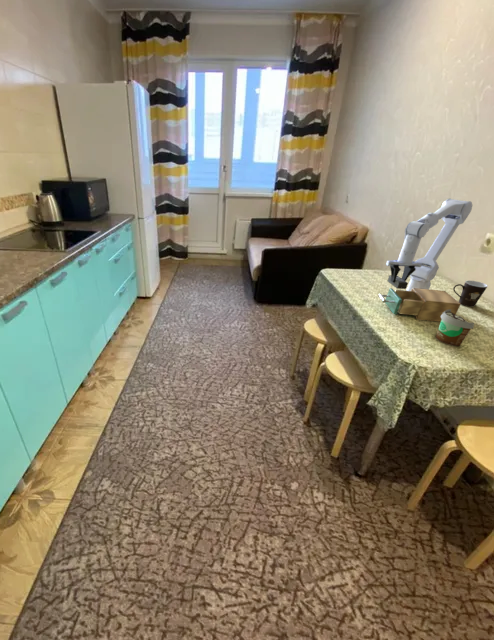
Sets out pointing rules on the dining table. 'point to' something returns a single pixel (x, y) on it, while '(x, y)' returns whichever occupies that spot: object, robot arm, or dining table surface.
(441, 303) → the cabinet
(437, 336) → the food container
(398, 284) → the remote
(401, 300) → the drawer
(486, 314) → the dining table surface
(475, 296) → the coffee mug
